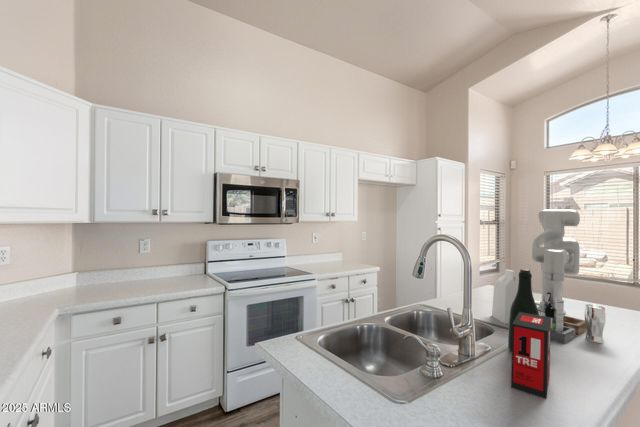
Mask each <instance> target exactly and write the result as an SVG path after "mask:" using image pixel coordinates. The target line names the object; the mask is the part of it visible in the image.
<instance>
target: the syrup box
mask: <svg viewBox="0 0 640 427" xmlns="http://www.w3.org/2000/svg"><path fill="white" fill-rule="evenodd" d="M549 301H550V300H549ZM551 302H552V301H551ZM564 303H565V300H564V299H562V300H557V301H556V303H554V307H553V309H554V318H551V326H550V330H554V331H557V332H563V315H564V316H565V314H564V311H565V310H564V309H565V308H564V307H565V304H564ZM550 304H551V303H550ZM542 316H545V301H543V312H542ZM545 317H546V316H545Z"/></svg>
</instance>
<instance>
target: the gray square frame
mask: <svg viewBox="0 0 640 427" xmlns="http://www.w3.org/2000/svg"><path fill="white" fill-rule="evenodd" d="M573 339H576V335H575V329H574V328H570V327H567V326H563V332H557V331H554V330H550V341H552V342H553V341H554V342H556V343H560V344H564V345H565V344H567V343H569V342H571V341H572V340H573Z"/></svg>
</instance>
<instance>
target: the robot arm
mask: <svg viewBox="0 0 640 427" xmlns="http://www.w3.org/2000/svg"><path fill="white" fill-rule="evenodd" d="M537 215H538V220H539V223H540V225H541V226H542V229H543V232H541V233H539V234H538V235H537V236H536V237H535V238H534V240H533V241H532V245H531V259H532V260H533V261H534V263H535V262H536V263H540V271H541V301H539V300H535V303H536V305H537V308H538V311H539V312H542V313H543V301H545V316H546V317H551V318H554V309H553V307H554V303H556V301H557V300H563V282H565V276H566V275H567V276H576V275H578V274H579V272H580V256H581V255H580V243H579V241H577V240H576V239H573V238H564V237H565V233H566V232H565V227H578V226H579V224H580V222H581V216H580V213H579V212H578V210H577V209H542V210H540V211H538V214H537ZM542 245H543V246H542ZM549 300H550V301H549ZM551 301H552V302H551ZM550 303H551V304H550ZM565 314H566V310H564V315H565Z"/></svg>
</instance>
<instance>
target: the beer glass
mask: <svg viewBox="0 0 640 427" xmlns="http://www.w3.org/2000/svg"><path fill="white" fill-rule="evenodd" d="M606 314H607V313H606V308H605V307H604V306H601V305H597V304H589V303H587V304H585V307H584V320H585V323H586V328H587V331H586V334H585V340H587V341H588V342H591V343H595V344H604V342H605V341H604V340H605V339H604V336H603V335H604V329H605V325H606V320H607V318H606V317H607V316H606Z"/></svg>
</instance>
